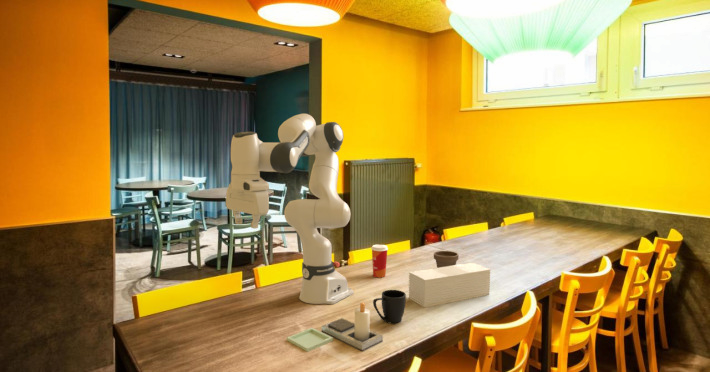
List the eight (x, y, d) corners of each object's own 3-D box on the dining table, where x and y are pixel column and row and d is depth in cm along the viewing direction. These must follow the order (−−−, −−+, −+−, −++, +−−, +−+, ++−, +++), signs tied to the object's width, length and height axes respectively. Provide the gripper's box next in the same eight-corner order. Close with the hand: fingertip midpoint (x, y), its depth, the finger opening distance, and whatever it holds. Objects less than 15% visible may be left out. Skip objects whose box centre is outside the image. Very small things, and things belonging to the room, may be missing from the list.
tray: (312, 331, 137) (312, 327, 137) (332, 342, 130) (332, 337, 130) (286, 342, 130) (286, 337, 130) (307, 353, 123) (307, 348, 123)
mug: (367, 319, 147) (367, 293, 146) (397, 314, 152) (397, 288, 151) (379, 329, 139) (379, 301, 138) (409, 322, 145) (410, 295, 144)
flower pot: (430, 271, 203) (430, 250, 202) (453, 270, 204) (453, 250, 203) (437, 278, 192) (437, 257, 191) (461, 278, 193) (462, 256, 192)
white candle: (361, 334, 133) (362, 299, 132) (372, 339, 130) (373, 304, 128) (351, 338, 130) (351, 303, 128) (361, 344, 127) (362, 308, 125)
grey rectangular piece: (341, 325, 142) (342, 315, 142) (382, 343, 130) (382, 333, 129) (321, 333, 136) (321, 323, 136) (362, 353, 123) (362, 342, 123)
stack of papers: (471, 287, 182) (472, 262, 181) (489, 295, 172) (490, 269, 171) (408, 298, 168) (409, 272, 167) (424, 308, 158) (425, 279, 157)
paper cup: (371, 272, 199) (372, 243, 198) (388, 273, 198) (388, 244, 197) (370, 278, 191) (370, 247, 190) (387, 279, 190) (387, 248, 189)
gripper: (220, 181, 140) (221, 222, 141) (254, 186, 125) (255, 232, 127) (237, 180, 144) (238, 220, 146) (272, 184, 130) (272, 229, 131)
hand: (246, 225), depth 136 cm, fingers open, 8 cm apart
